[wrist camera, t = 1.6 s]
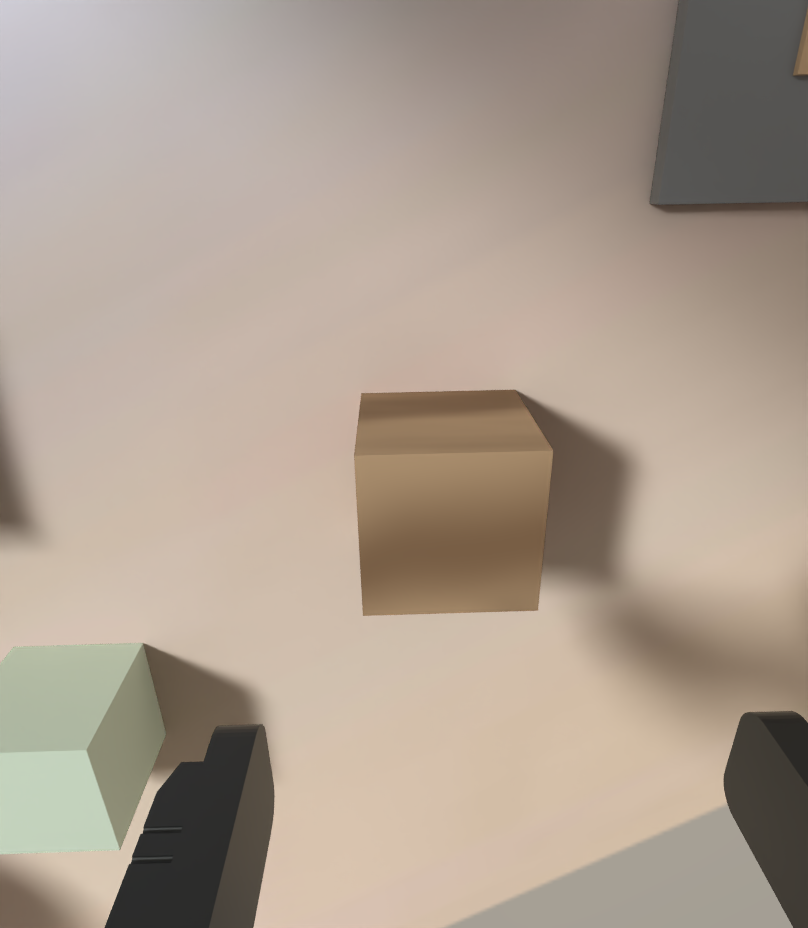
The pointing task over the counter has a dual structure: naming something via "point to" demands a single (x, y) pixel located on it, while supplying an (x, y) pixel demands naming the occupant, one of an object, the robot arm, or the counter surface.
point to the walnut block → (450, 502)
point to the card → (735, 105)
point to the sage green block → (74, 745)
